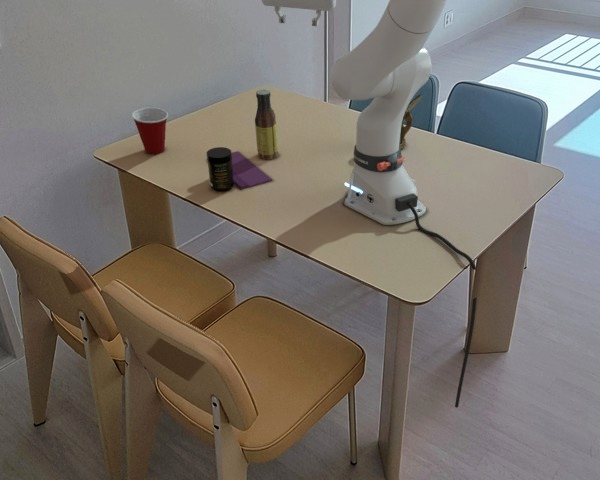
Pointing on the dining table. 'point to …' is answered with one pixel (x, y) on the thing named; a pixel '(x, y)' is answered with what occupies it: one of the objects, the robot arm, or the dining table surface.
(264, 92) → the sauce bottle
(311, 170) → the dining table surface
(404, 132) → the wooden mug
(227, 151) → the supplement container
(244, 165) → the purple flat rectangular panel
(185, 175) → the dining table surface
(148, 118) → the plastic cup
